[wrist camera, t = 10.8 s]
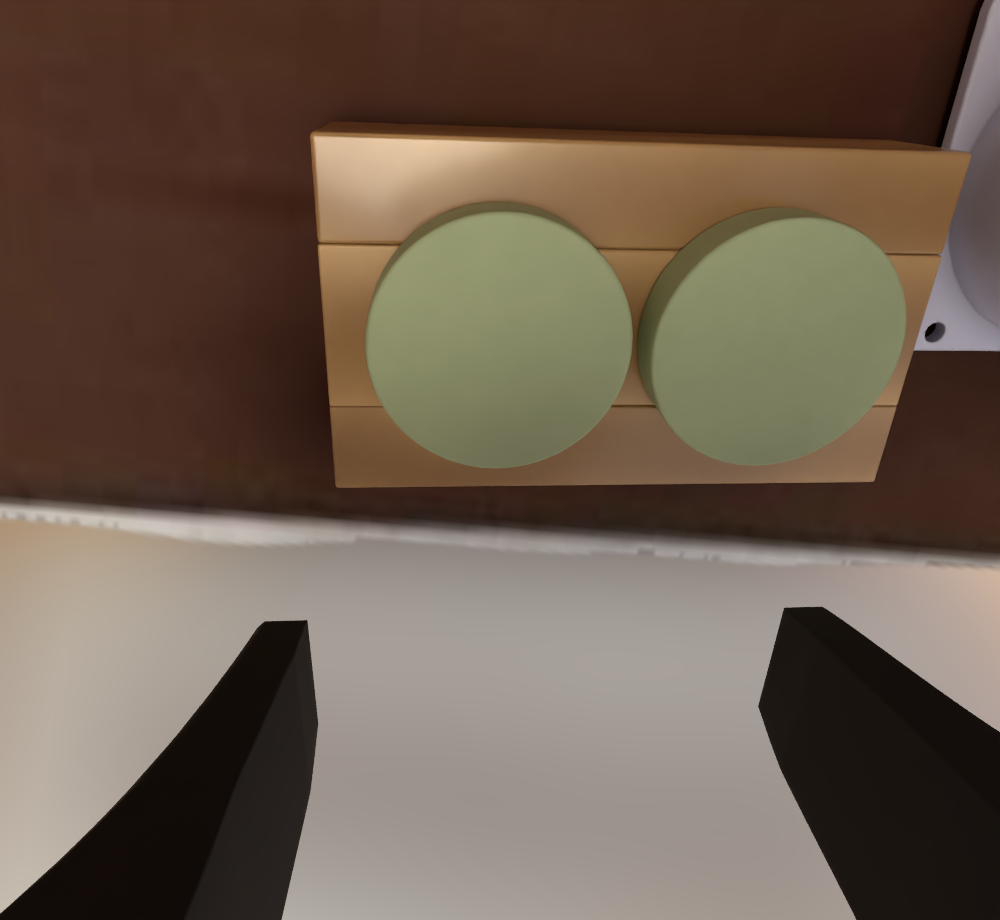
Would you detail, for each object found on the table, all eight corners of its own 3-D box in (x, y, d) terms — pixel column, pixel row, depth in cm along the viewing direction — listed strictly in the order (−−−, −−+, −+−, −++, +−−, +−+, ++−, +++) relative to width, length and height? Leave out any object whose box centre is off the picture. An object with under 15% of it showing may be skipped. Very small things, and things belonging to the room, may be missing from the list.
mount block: (328, 120, 16) (308, 131, 13) (891, 139, 17) (975, 152, 15) (348, 431, 20) (335, 488, 17) (817, 429, 21) (874, 482, 18)
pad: (604, 184, 17) (649, 214, 14) (584, 396, 19) (618, 468, 16) (372, 178, 17) (358, 208, 13) (381, 396, 19) (370, 471, 15)
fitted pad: (838, 190, 18) (942, 220, 14) (791, 395, 20) (869, 466, 16) (620, 184, 17) (670, 214, 14) (598, 395, 19) (636, 467, 16)
